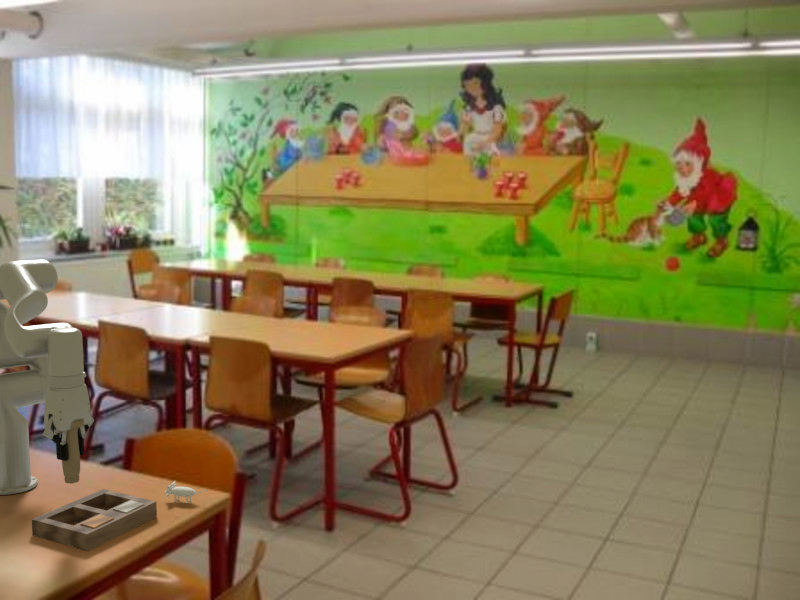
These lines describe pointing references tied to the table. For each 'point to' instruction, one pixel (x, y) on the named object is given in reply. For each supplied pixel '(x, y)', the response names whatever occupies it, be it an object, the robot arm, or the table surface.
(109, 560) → the table surface
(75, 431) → the handle
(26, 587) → the table surface
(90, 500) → the socket block
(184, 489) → the white animal figurine
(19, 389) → the robot arm
